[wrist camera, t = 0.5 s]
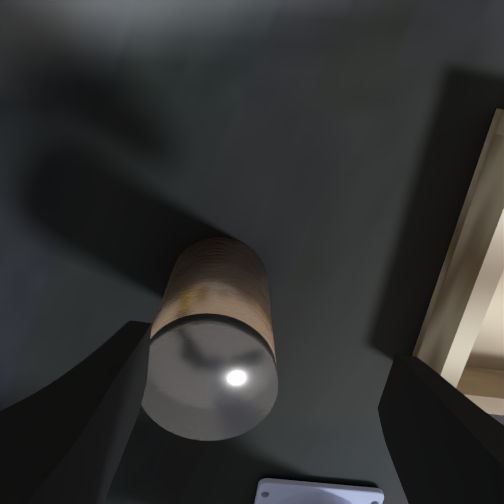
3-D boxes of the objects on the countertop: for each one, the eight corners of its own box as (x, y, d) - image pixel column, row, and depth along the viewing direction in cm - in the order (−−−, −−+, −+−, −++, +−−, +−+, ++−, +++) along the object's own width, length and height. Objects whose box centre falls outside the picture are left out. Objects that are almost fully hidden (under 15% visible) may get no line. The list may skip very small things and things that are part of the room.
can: (259, 326, 23) (266, 446, 16) (168, 316, 23) (132, 434, 16) (273, 243, 21) (289, 335, 14) (175, 231, 21) (138, 318, 14)
